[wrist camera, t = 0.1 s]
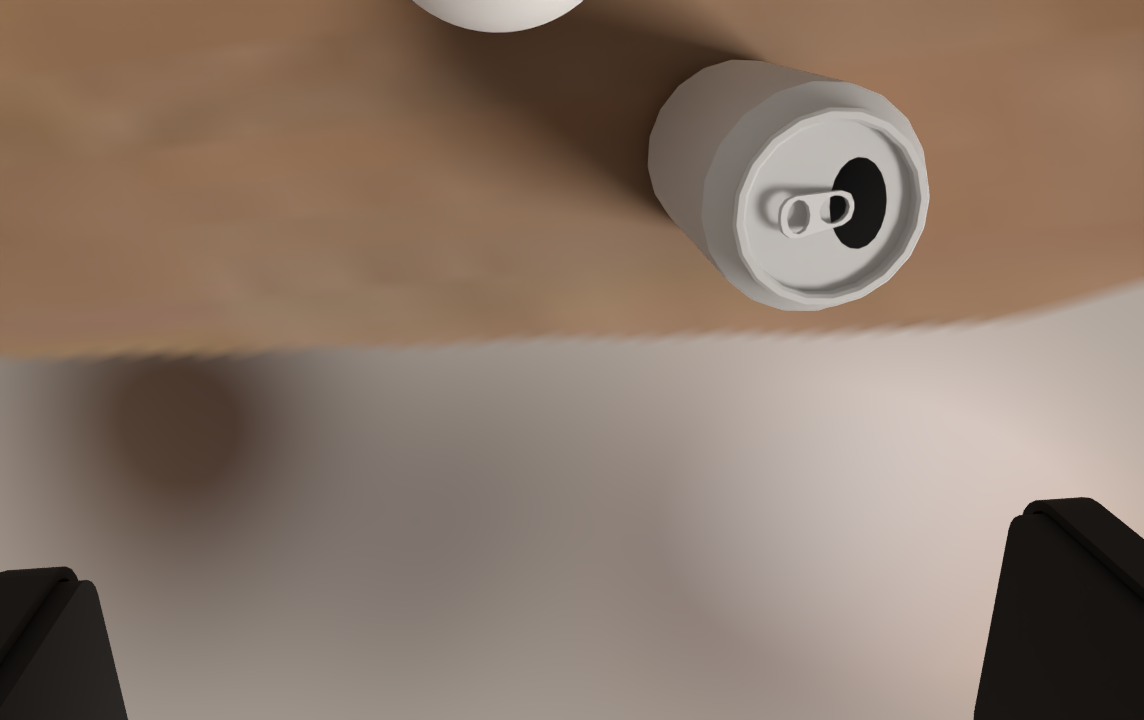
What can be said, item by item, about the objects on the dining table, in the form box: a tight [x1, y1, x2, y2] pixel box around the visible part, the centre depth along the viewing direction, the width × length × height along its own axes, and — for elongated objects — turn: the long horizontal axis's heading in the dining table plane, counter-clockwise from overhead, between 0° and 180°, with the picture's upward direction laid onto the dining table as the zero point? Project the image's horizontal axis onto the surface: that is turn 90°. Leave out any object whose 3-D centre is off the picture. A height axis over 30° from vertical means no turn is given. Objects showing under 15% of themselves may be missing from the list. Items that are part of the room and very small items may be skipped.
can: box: [648, 60, 930, 311], centre depth 34 cm, size 8×8×12 cm
